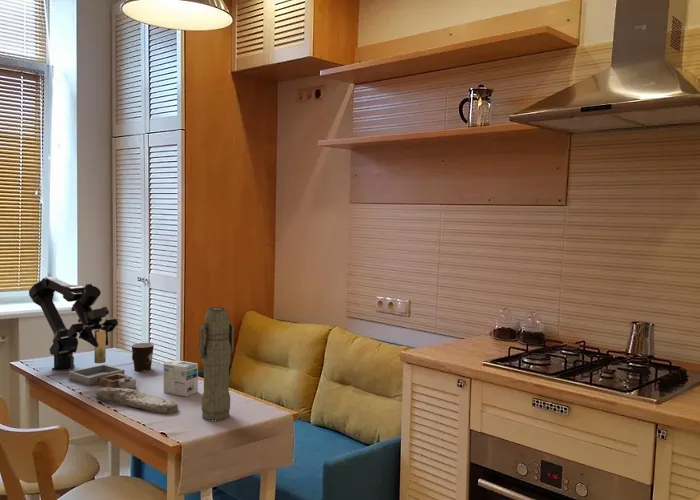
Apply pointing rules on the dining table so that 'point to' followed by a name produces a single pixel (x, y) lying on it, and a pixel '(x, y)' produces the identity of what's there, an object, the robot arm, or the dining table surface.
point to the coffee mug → (142, 356)
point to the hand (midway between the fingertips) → (102, 345)
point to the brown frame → (118, 381)
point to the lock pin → (100, 346)
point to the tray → (93, 374)
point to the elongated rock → (136, 399)
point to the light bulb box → (180, 378)
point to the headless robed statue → (216, 363)
